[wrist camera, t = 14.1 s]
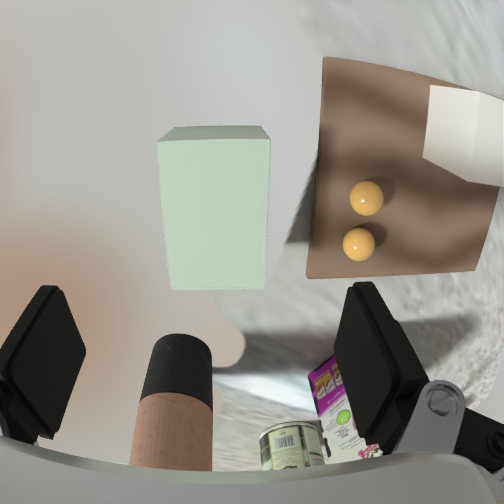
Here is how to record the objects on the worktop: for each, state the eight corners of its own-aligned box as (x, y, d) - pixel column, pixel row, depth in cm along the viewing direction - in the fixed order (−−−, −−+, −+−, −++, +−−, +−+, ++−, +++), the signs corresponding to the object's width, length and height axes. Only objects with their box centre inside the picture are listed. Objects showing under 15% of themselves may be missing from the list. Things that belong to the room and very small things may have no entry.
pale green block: (174, 127, 25) (156, 141, 19) (260, 126, 25) (270, 139, 19) (182, 246, 30) (171, 289, 24) (257, 245, 31) (264, 288, 24)
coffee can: (284, 452, 52) (293, 518, 40) (245, 438, 48) (251, 512, 36) (329, 431, 49) (346, 500, 37) (294, 414, 45) (308, 495, 33)
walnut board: (322, 57, 22) (326, 56, 22) (506, 104, 24) (512, 105, 23) (305, 273, 32) (307, 279, 32) (470, 266, 34) (474, 270, 33)
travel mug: (224, 344, 36) (227, 512, 19) (200, 380, 40) (196, 526, 22) (161, 322, 34) (130, 495, 17) (144, 362, 38) (117, 511, 20)
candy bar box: (329, 386, 42) (357, 488, 28) (305, 374, 40) (331, 486, 26) (392, 338, 38) (442, 441, 24) (371, 322, 37) (424, 436, 22)
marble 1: (346, 175, 27) (359, 186, 24) (377, 177, 27) (392, 188, 24) (342, 207, 28) (354, 221, 25) (372, 208, 28) (386, 222, 26)
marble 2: (340, 222, 29) (351, 237, 26) (370, 222, 29) (383, 237, 26) (336, 251, 30) (346, 267, 28) (365, 250, 30) (376, 266, 28)
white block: (422, 157, 26) (467, 181, 20) (430, 84, 23) (479, 92, 17) (497, 170, 27) (540, 194, 21) (506, 109, 23) (553, 124, 17)
